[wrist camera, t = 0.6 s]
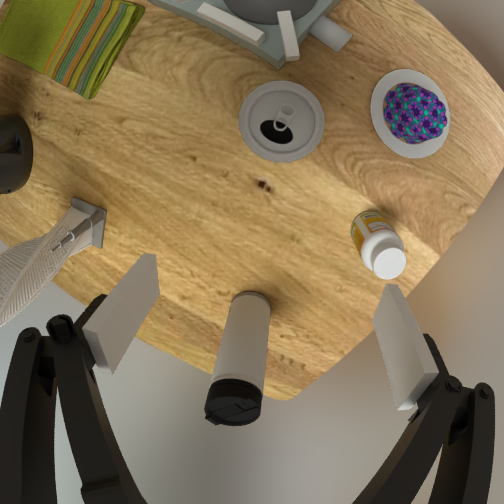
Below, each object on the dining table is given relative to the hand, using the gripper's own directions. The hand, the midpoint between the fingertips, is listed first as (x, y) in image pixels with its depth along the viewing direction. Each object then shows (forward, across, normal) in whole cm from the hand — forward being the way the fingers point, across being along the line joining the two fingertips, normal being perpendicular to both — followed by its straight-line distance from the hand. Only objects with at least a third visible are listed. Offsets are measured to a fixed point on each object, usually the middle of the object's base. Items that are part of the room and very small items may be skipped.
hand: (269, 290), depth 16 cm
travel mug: (+23, -2, -20) cm, 30 cm away
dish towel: (+23, -39, +26) cm, 52 cm away
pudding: (+23, +16, +13) cm, 31 cm away
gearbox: (+23, -5, +25) cm, 34 cm away
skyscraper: (+23, -30, -8) cm, 39 cm away
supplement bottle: (+23, +13, -4) cm, 27 cm away
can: (+23, 0, +9) cm, 24 cm away
